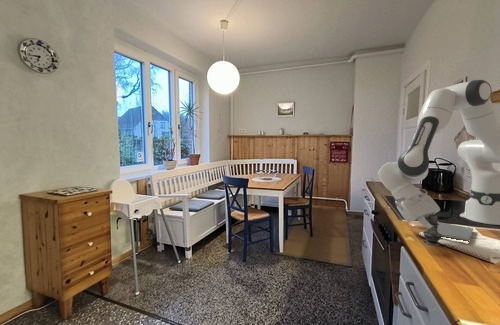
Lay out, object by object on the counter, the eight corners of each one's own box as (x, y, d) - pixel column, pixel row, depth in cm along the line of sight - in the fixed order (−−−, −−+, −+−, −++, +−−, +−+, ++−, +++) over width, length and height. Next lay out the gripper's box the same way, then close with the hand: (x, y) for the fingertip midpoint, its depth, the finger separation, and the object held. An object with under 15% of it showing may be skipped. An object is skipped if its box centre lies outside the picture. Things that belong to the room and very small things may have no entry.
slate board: (437, 225, 112) (437, 222, 112) (472, 231, 103) (473, 228, 103) (429, 236, 99) (429, 232, 99) (468, 244, 91) (468, 240, 90)
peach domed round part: (411, 222, 118) (411, 220, 117) (431, 226, 112) (431, 223, 112) (406, 226, 112) (406, 224, 112) (427, 230, 106) (427, 228, 106)
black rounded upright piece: (445, 246, 90) (446, 215, 89) (427, 245, 91) (428, 214, 90) (436, 240, 95) (437, 210, 94) (419, 239, 97) (420, 210, 96)
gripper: (399, 195, 93) (426, 227, 85) (427, 189, 102) (454, 218, 95) (387, 204, 97) (412, 236, 89) (415, 197, 107) (440, 225, 99)
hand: (434, 226), depth 92 cm, fingers closed on black rounded upright piece, 4 cm apart
